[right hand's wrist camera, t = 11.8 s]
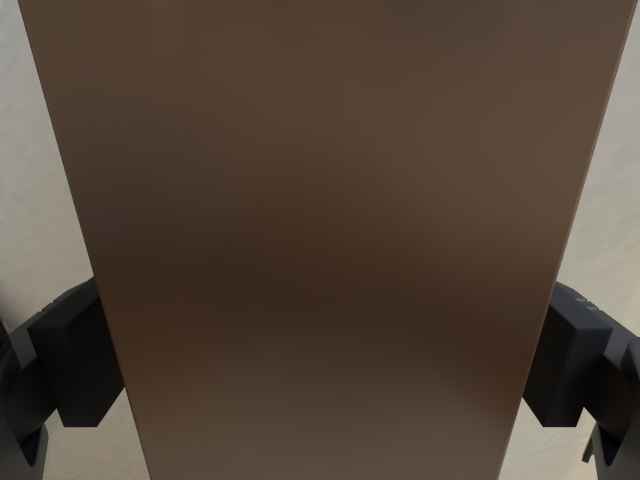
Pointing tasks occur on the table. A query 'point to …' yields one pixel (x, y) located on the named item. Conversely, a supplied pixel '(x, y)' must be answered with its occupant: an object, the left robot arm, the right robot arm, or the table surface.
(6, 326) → the stone
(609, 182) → the table surface
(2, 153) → the table surface
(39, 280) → the table surface
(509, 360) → the box
